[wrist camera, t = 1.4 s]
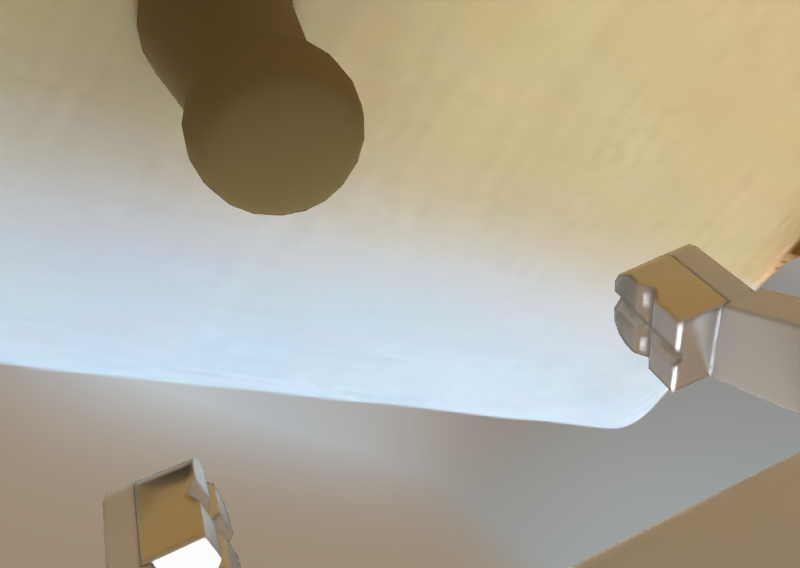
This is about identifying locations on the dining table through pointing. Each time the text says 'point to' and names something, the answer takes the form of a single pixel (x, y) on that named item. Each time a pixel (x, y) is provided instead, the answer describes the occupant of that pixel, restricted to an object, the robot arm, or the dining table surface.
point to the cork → (255, 101)
